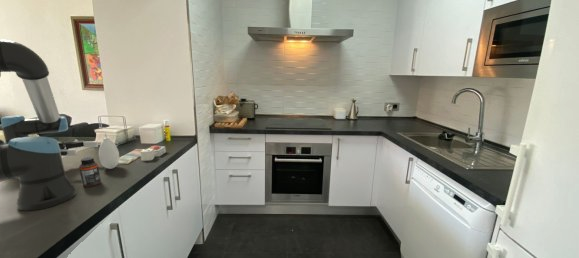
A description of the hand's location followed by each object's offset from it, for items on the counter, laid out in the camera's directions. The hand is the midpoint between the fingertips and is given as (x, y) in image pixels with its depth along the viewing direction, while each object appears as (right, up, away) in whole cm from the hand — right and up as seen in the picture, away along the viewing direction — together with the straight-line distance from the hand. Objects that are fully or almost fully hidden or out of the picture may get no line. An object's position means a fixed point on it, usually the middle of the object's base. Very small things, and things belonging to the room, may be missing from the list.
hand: (87, 148), depth 117 cm
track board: (+9, -6, +19) cm, 22 cm away
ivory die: (+20, -7, +16) cm, 27 cm away
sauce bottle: (+10, -10, +3) cm, 14 cm away
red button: (+20, -4, +23) cm, 31 cm away
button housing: (+20, -5, +23) cm, 31 cm away
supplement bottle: (+15, -14, -15) cm, 25 cm away
